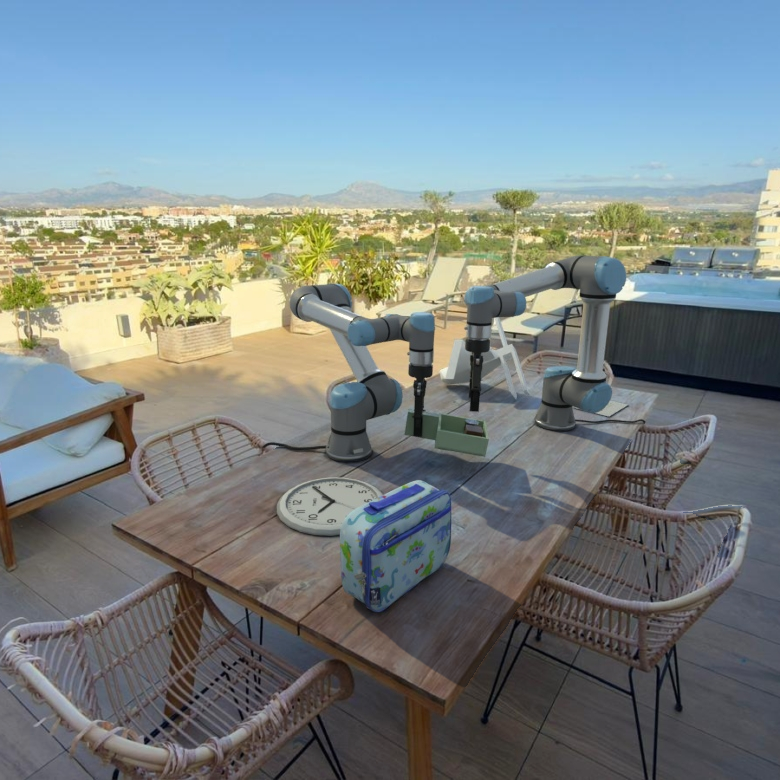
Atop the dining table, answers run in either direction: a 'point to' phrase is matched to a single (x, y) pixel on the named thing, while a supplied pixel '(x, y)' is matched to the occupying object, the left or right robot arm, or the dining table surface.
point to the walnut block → (473, 430)
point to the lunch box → (394, 543)
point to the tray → (449, 433)
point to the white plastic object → (491, 360)
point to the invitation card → (611, 408)
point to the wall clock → (323, 504)
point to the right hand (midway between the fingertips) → (473, 404)
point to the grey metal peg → (470, 423)
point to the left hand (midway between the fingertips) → (418, 433)
